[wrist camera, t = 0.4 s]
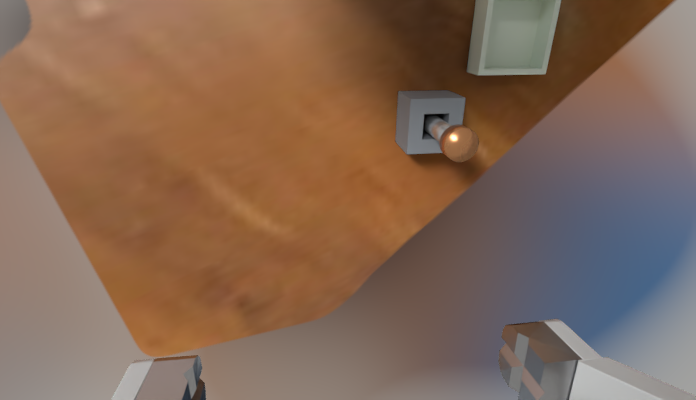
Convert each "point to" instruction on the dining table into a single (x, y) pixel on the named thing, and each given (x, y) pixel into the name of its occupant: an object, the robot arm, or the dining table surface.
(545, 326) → the robot arm
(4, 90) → the dining table surface
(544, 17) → the tray
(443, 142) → the pin
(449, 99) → the pin block
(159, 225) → the dining table surface
